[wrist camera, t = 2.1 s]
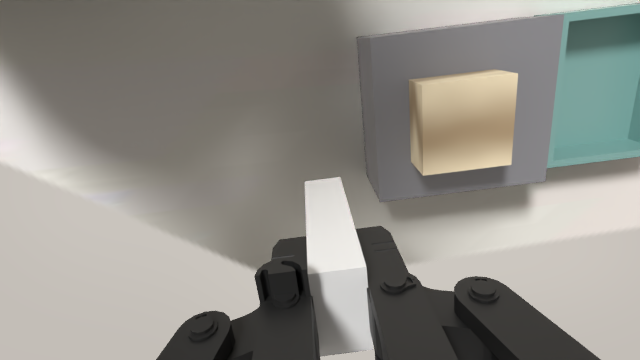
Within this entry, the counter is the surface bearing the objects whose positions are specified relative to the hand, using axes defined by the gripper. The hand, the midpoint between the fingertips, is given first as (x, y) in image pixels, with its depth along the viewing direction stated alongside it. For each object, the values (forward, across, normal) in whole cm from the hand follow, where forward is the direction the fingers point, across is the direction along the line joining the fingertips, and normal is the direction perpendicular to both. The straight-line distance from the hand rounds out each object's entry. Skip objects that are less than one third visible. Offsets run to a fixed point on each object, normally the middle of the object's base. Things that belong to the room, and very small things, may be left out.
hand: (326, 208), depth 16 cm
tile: (+12, +10, 0) cm, 16 cm away
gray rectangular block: (+18, +11, 0) cm, 21 cm away
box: (+18, +24, 0) cm, 30 cm away
